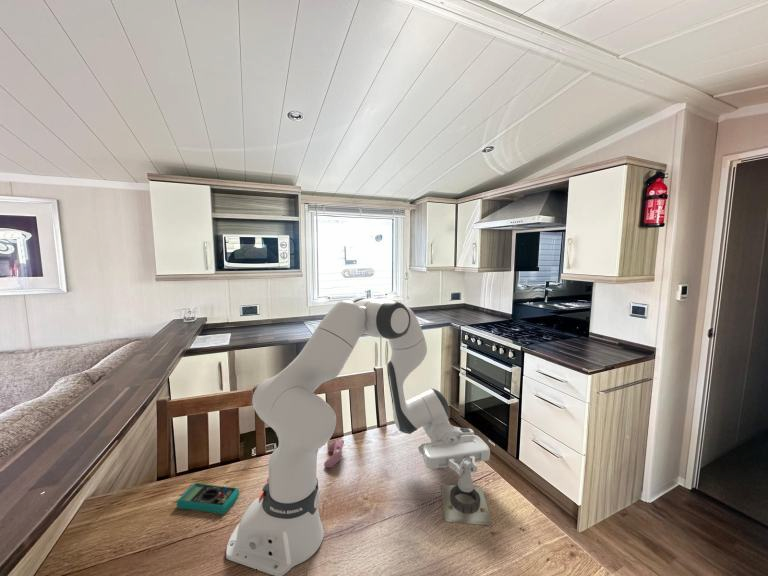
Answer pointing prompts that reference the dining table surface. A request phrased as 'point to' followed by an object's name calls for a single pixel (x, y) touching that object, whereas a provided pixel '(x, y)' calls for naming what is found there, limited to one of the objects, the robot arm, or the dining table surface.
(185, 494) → the digital multimeter
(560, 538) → the dining table surface
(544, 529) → the dining table surface
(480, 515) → the socket block
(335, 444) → the pink irregular piece
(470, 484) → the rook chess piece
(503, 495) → the dining table surface
